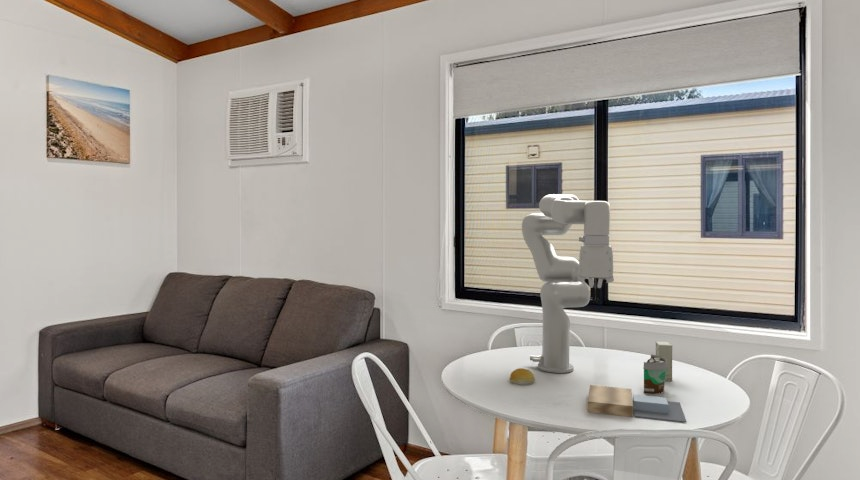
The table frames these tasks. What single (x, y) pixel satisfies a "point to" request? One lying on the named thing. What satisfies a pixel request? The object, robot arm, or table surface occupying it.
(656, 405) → the tile
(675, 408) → the mat
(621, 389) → the wooden block
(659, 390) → the food container
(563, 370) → the robot arm
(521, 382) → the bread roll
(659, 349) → the skincare box
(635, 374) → the table surface
